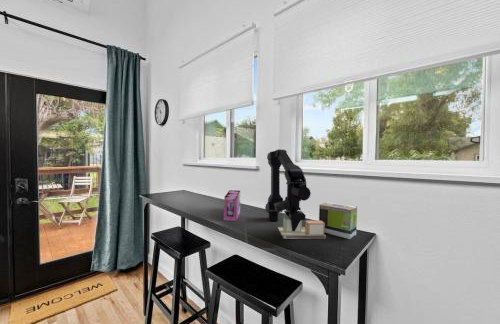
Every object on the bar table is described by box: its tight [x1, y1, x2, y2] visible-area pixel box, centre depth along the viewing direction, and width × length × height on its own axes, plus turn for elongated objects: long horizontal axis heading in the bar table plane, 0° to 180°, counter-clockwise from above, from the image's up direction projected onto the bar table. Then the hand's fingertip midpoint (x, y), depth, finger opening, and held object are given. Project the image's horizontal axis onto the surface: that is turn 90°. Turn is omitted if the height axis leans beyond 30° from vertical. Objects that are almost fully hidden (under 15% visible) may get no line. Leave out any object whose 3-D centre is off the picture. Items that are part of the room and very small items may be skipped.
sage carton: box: [282, 215, 303, 233], centre depth 101 cm, size 4×8×6 cm, turn 94°
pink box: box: [304, 220, 325, 235], centre depth 102 cm, size 4×8×6 cm, turn 94°
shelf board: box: [277, 226, 327, 240], centre depth 106 cm, size 15×19×3 cm
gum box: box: [222, 189, 241, 222], centre depth 136 cm, size 24×8×14 cm, turn 178°
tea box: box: [318, 201, 358, 240], centre depth 107 cm, size 15×10×15 cm, turn 48°
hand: (292, 229), depth 101 cm, fingers closed on sage carton, 4 cm apart
